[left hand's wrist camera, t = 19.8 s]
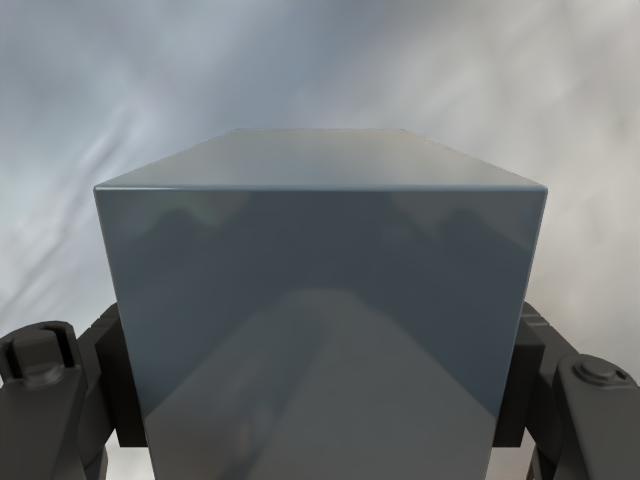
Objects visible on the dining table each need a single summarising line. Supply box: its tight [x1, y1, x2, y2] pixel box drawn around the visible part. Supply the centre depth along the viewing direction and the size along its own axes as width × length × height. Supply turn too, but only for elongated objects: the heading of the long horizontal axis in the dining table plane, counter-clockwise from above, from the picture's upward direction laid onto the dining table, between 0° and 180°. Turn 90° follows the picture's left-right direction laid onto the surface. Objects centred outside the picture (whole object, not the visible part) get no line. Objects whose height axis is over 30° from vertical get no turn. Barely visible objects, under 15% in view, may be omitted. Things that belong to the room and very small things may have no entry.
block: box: [93, 129, 548, 480], centre depth 13 cm, size 7×9×11 cm
